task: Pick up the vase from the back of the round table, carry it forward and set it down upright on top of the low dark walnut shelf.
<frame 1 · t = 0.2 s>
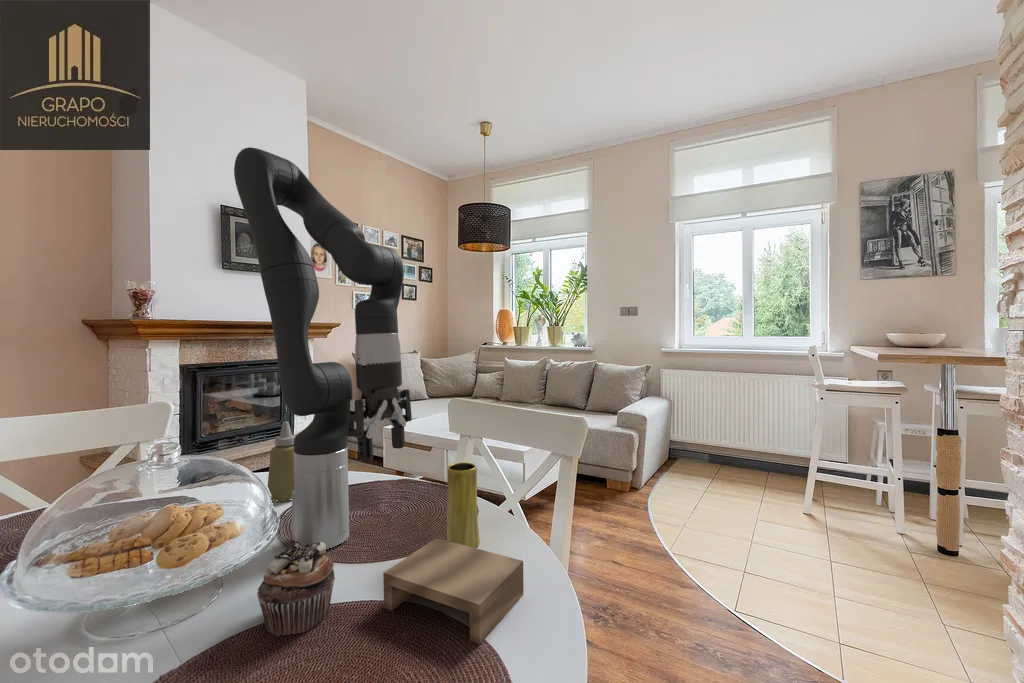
hand: (383, 454, 78), 18 cm above the table, tool pointing down, fingers open, 8 cm apart
walnut shelf: (455, 600, 65), on the table
squeeze bottle: (287, 498, 106), on the table
cupcake: (297, 618, 62), on the table
vase: (462, 544, 83), on the table
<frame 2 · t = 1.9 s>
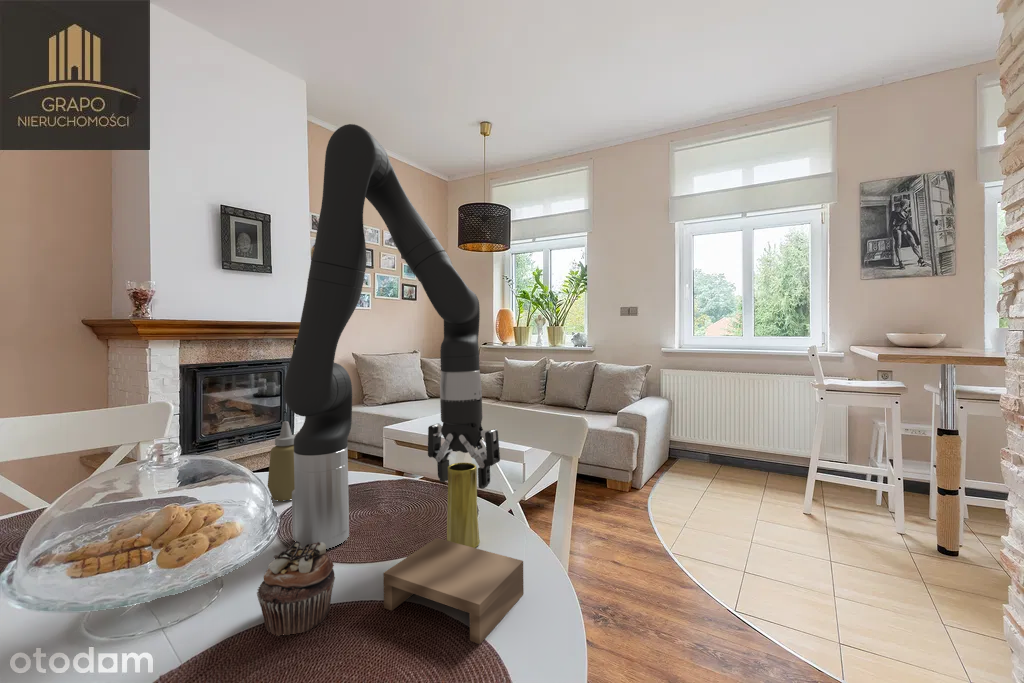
hand: (463, 484, 82), 11 cm above the table, tool pointing down, fingers open, 8 cm apart
nothing on the table moved.
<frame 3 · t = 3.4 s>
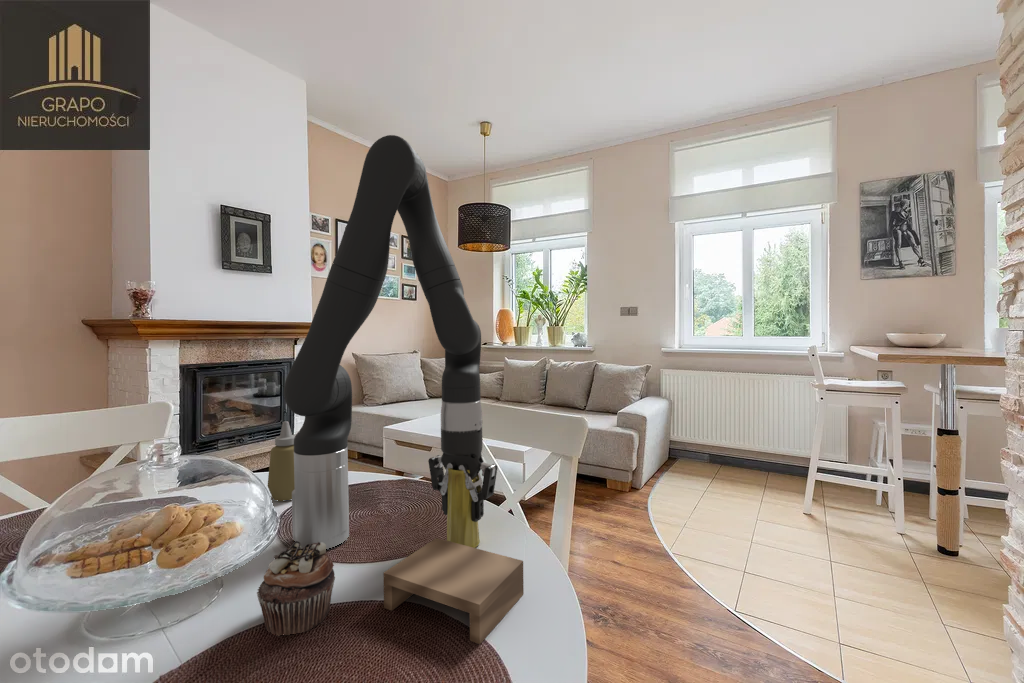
hand: (462, 516, 82), 5 cm above the table, tool pointing down, fingers closed on vase, 5 cm apart
vase: (462, 544, 83), on the table, touching gripper
everything else where it was.
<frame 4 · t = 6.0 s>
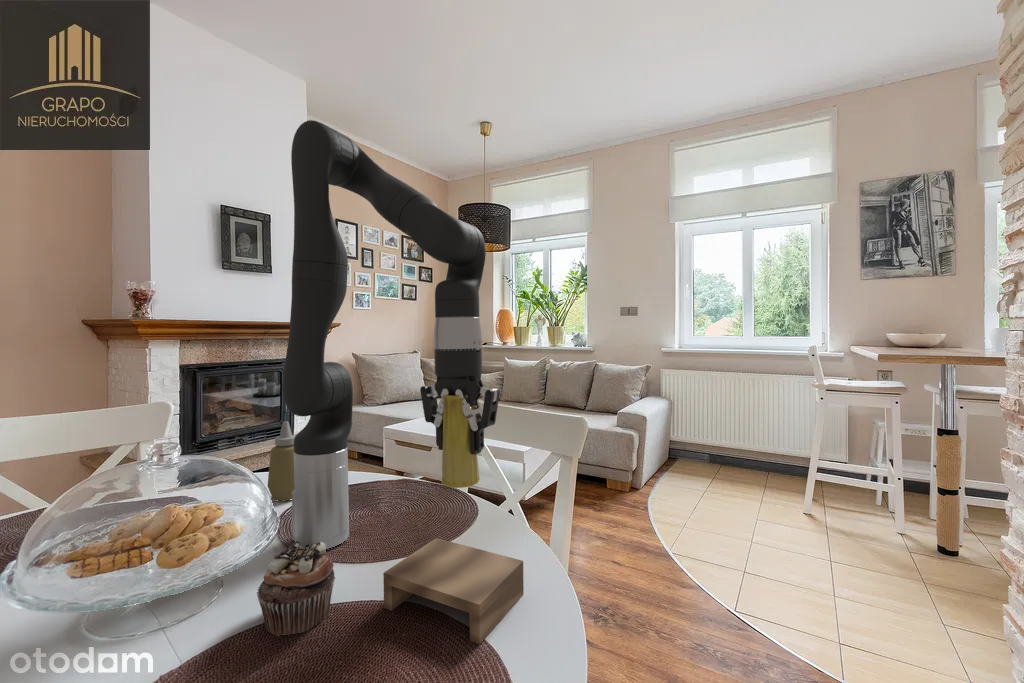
hand: (459, 450, 72), 20 cm above the table, tool pointing down, fingers closed on vase, 5 cm apart
vase: (460, 483, 73), point 14 cm above the table, touching gripper
everything else where it was.
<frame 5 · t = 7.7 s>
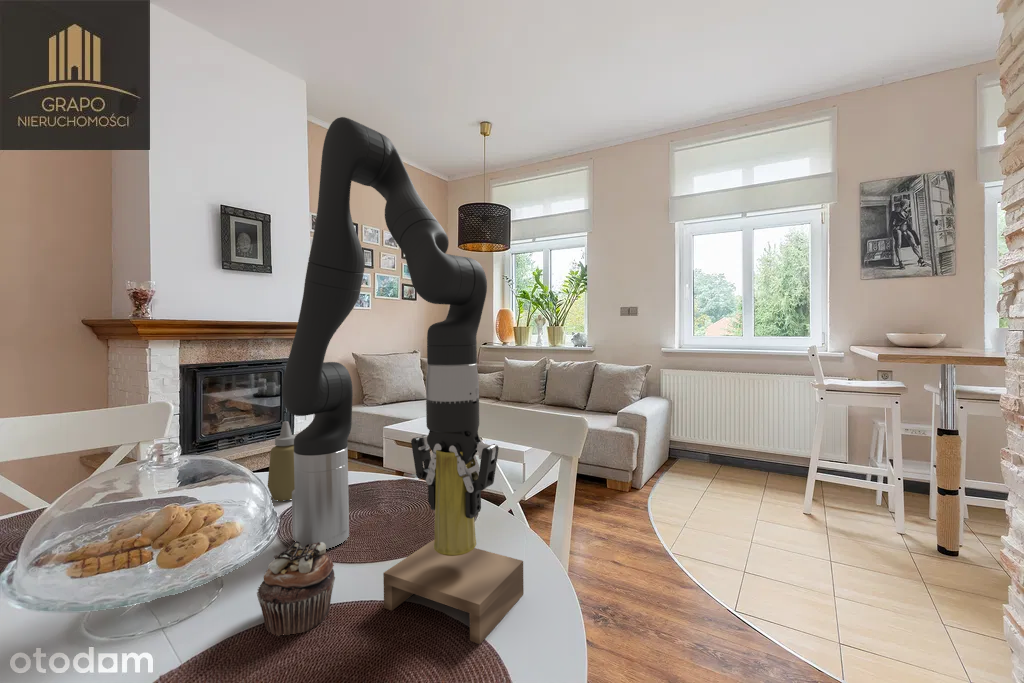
hand: (454, 511, 65), 13 cm above the table, tool pointing down, fingers closed on vase, 5 cm apart
vase: (454, 547, 65), point 8 cm above the table, touching gripper
everything else where it was.
when the fingers open (11 cm above the table, at t = 8.9 s): vase drops 1 cm, resting on walnut shelf.
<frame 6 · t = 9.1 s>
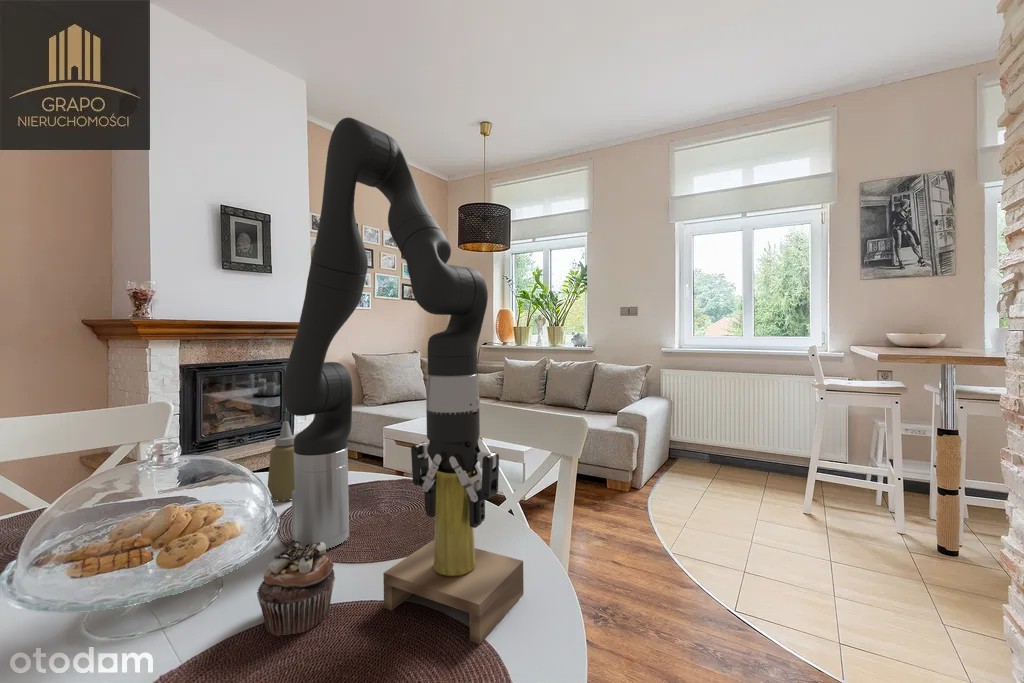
hand: (454, 520, 65), 12 cm above the table, tool pointing down, fingers open, 7 cm apart
vase: (454, 567, 65), point 5 cm above the table, touching walnut shelf
everything else where it was.
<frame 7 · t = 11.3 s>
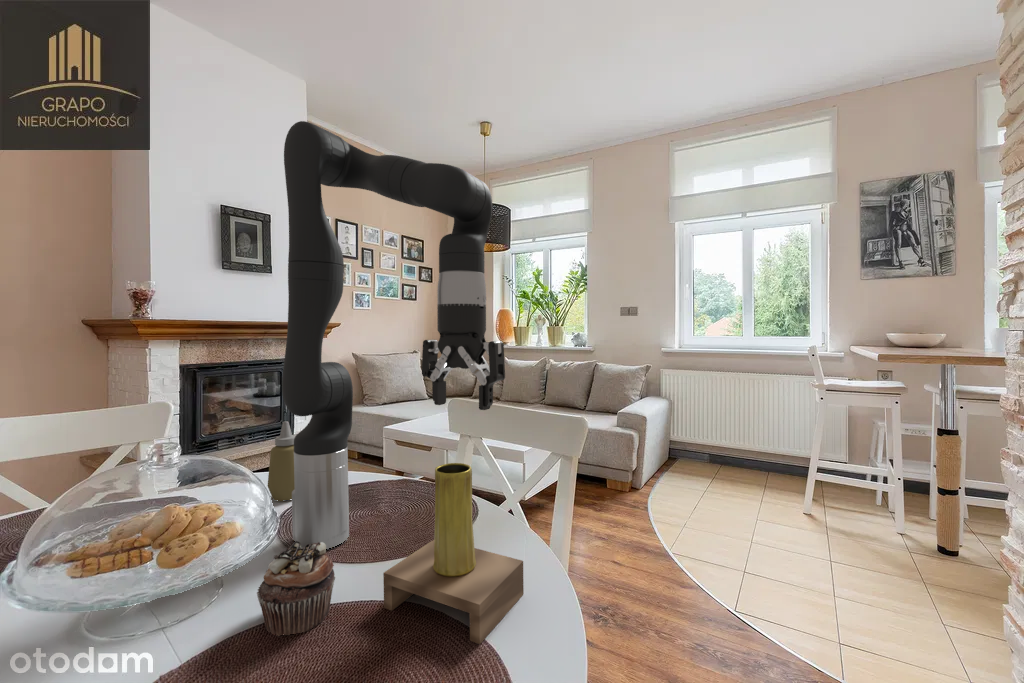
hand: (461, 406, 70), 27 cm above the table, tool pointing down, fingers open, 8 cm apart
nothing on the table moved.
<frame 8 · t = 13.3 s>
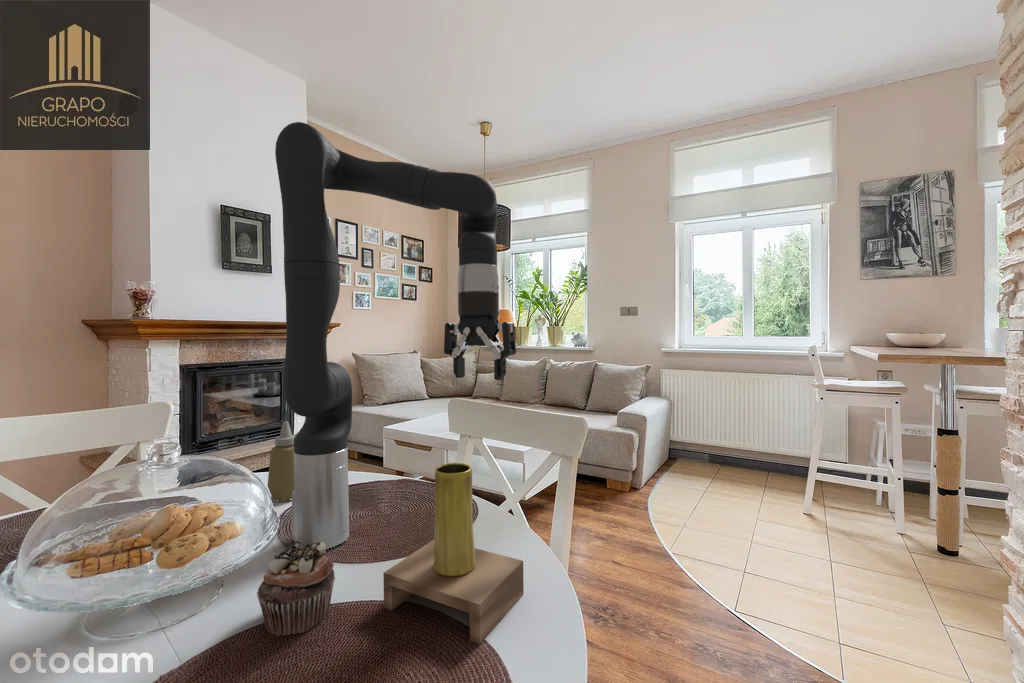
hand: (479, 378, 83), 30 cm above the table, tool pointing down, fingers open, 8 cm apart
nothing on the table moved.
at the end: vase inside the target area on the walnut shelf (0.1 cm from its centre), point 4.8 cm above the walnut shelf's base; vase tilted 0°; the gripper is holding nothing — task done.
